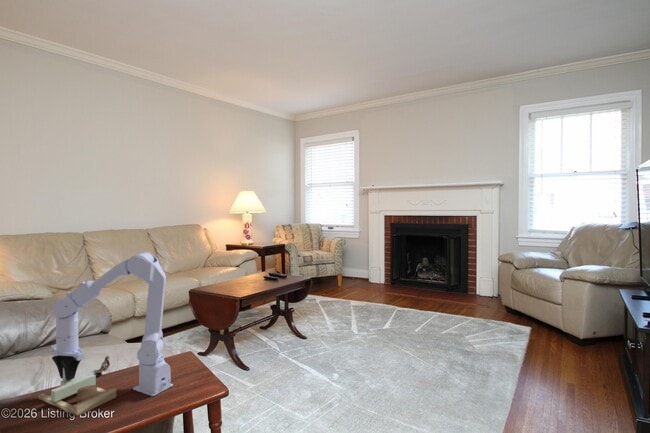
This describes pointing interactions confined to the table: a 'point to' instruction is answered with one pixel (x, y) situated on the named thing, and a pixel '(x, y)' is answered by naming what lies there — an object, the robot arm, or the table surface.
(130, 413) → the table surface
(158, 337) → the robot arm
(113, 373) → the table surface
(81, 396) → the walnut puck
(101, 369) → the brown figurine
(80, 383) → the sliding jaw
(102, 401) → the frame
